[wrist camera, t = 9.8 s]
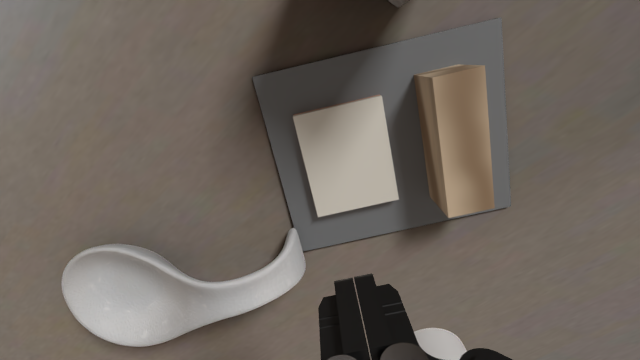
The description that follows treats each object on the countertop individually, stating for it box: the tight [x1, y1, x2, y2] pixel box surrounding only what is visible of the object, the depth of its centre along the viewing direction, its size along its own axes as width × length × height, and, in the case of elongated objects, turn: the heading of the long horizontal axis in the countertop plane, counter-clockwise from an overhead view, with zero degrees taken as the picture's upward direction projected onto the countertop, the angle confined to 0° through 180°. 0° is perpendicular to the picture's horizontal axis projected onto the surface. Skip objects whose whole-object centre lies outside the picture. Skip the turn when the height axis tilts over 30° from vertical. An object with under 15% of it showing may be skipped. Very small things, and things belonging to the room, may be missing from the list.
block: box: [414, 64, 495, 218], centre depth 31 cm, size 4×12×5 cm, turn 13°
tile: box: [293, 95, 399, 217], centre depth 33 cm, size 4×10×8 cm
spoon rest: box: [61, 228, 306, 347], centre depth 34 cm, size 24×12×7 cm, turn 103°
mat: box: [252, 18, 511, 251], centre depth 34 cm, size 22×18×1 cm
